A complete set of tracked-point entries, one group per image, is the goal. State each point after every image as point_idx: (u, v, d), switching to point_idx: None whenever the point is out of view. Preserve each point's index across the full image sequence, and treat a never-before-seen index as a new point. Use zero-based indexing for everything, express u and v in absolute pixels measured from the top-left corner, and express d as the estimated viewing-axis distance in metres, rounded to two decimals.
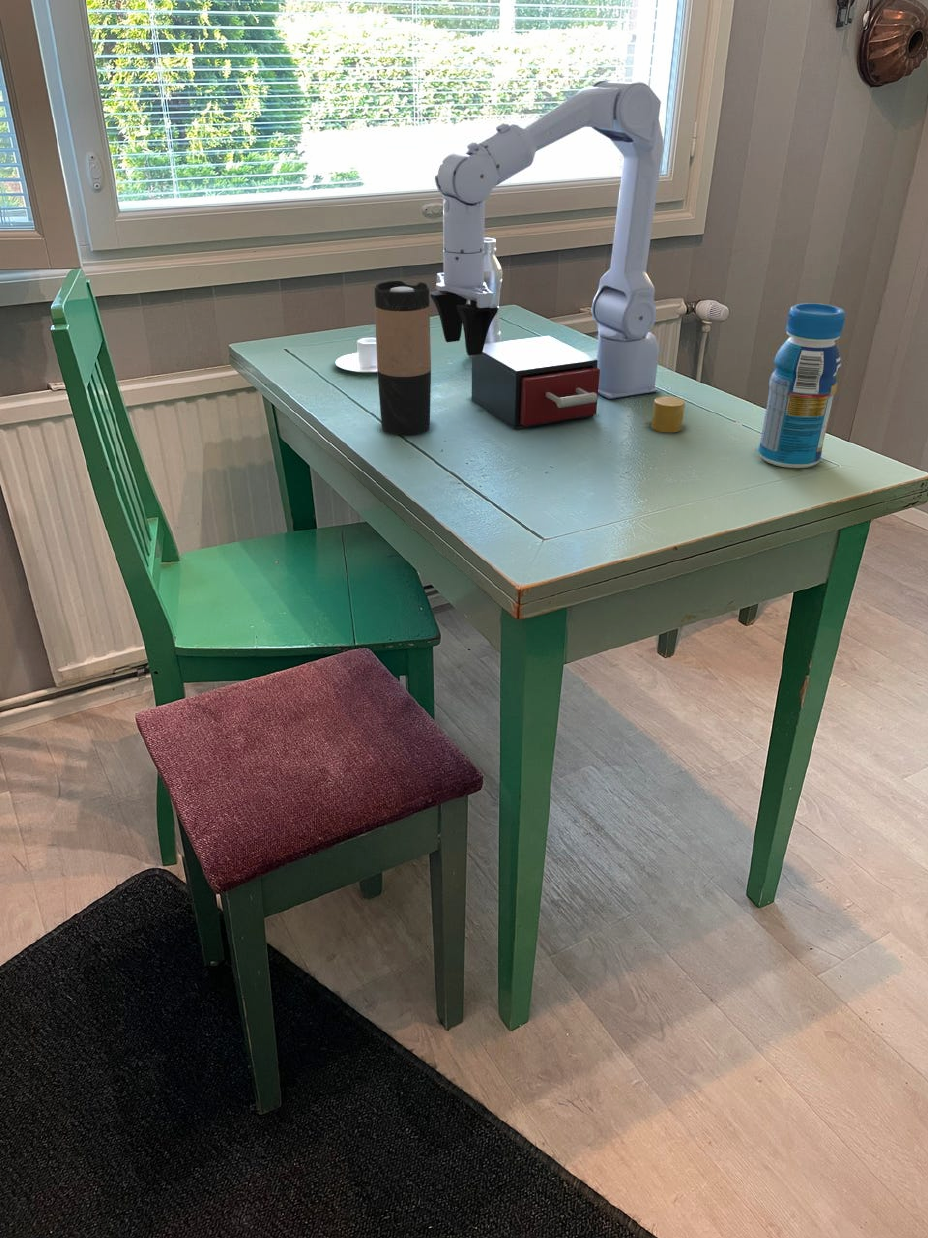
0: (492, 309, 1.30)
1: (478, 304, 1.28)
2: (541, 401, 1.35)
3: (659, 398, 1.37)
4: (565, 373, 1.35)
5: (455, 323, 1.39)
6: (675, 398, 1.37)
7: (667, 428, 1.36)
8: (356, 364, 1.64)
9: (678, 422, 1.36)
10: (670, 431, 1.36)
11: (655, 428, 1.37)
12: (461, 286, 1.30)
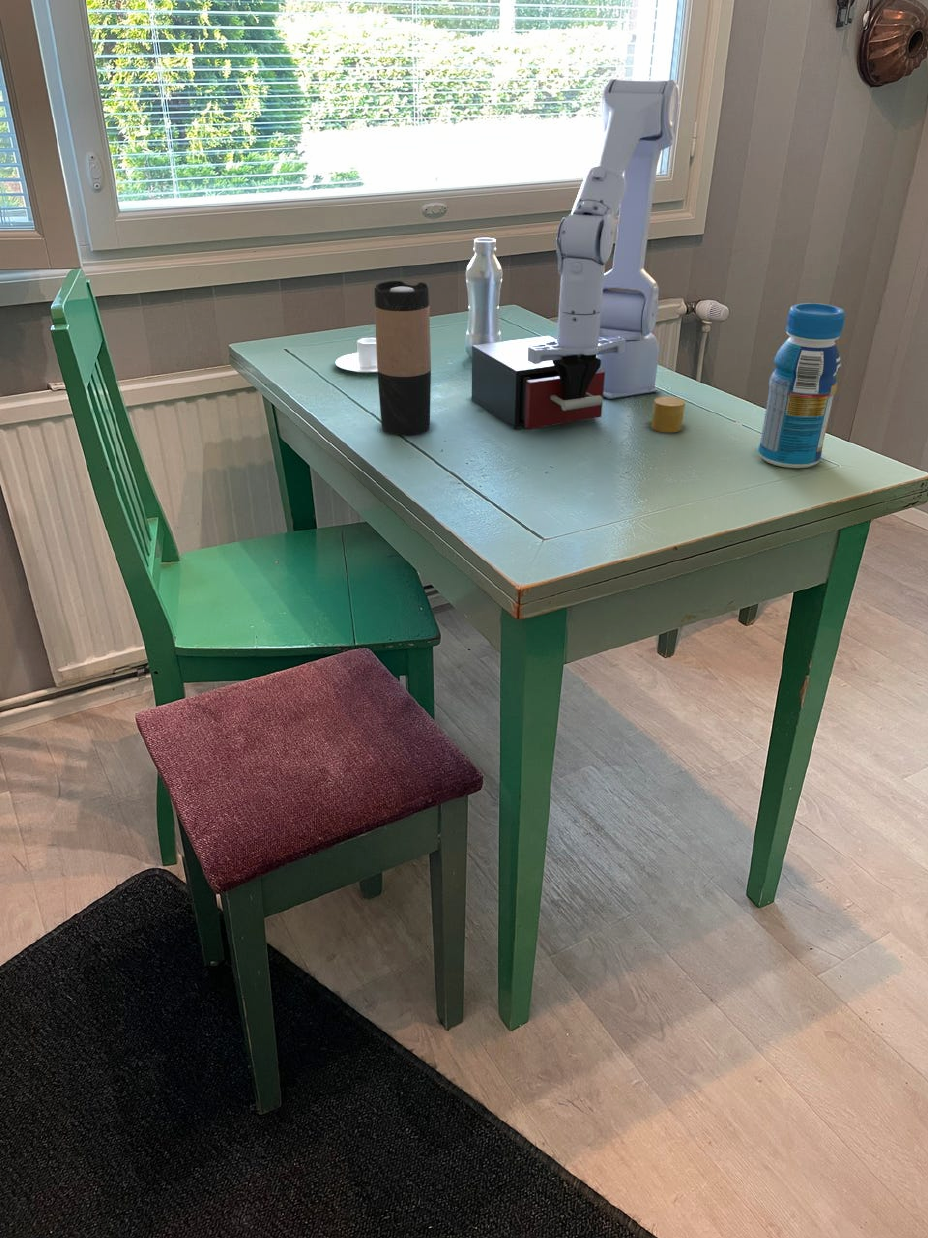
0: None
1: (622, 350, 1.32)
2: (546, 404, 1.34)
3: (659, 398, 1.37)
4: None
5: None
6: (675, 398, 1.37)
7: (667, 428, 1.36)
8: (356, 364, 1.64)
9: (678, 422, 1.36)
10: (670, 431, 1.36)
11: (655, 428, 1.37)
12: (598, 343, 1.29)
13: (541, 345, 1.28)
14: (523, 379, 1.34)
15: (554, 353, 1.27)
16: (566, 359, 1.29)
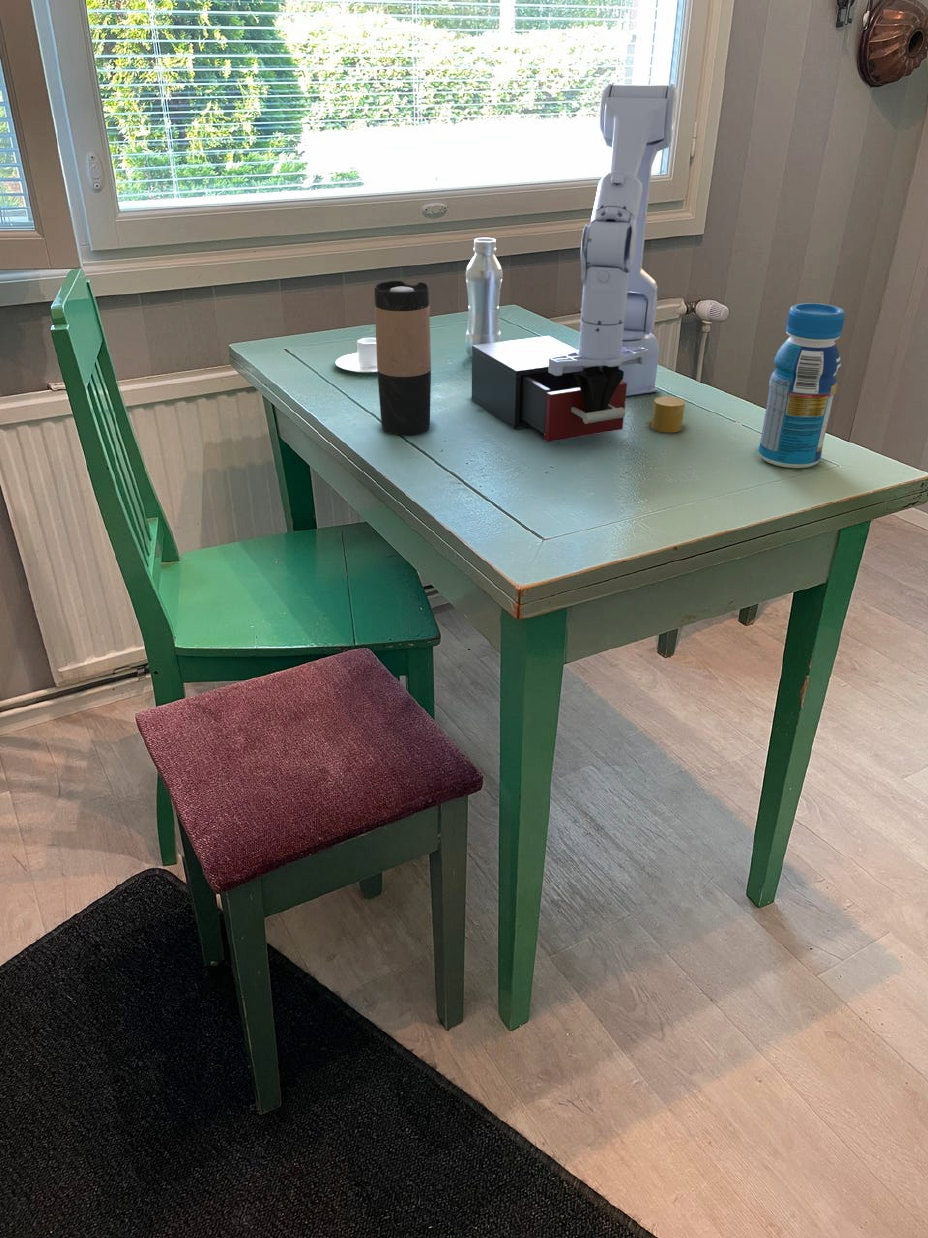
0: None
1: (645, 361, 1.27)
2: (566, 416, 1.30)
3: (659, 398, 1.37)
4: None
5: None
6: (675, 398, 1.37)
7: (667, 428, 1.36)
8: (356, 364, 1.64)
9: (678, 422, 1.36)
10: (670, 431, 1.36)
11: (655, 428, 1.37)
12: (621, 353, 1.25)
13: (562, 356, 1.24)
14: (543, 390, 1.30)
15: (576, 365, 1.22)
16: (588, 371, 1.24)
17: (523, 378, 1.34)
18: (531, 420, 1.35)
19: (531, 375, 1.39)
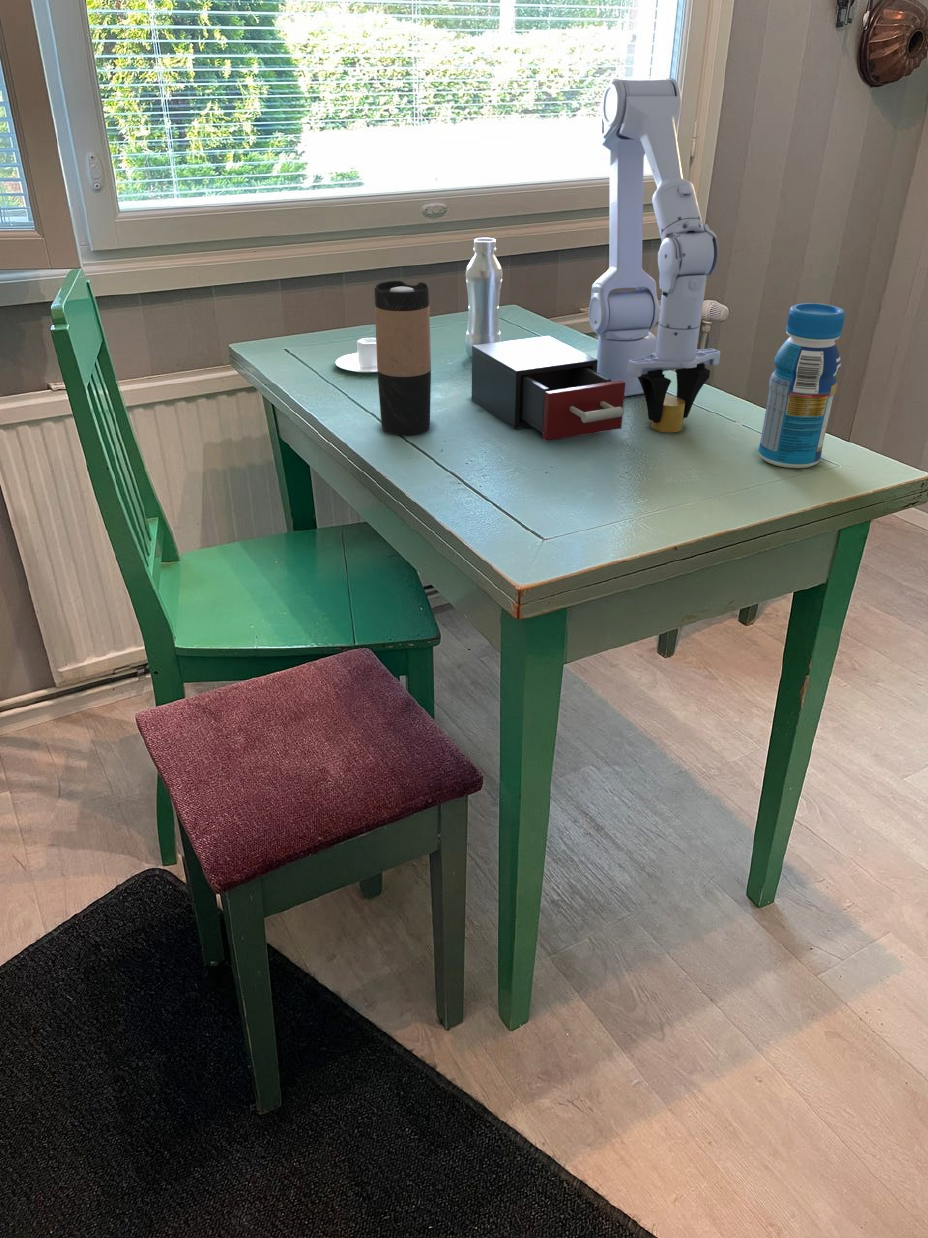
0: None
1: (717, 362, 1.35)
2: (565, 415, 1.30)
3: None
4: (589, 386, 1.30)
5: None
6: (675, 398, 1.37)
7: (667, 428, 1.36)
8: (356, 364, 1.64)
9: (678, 422, 1.36)
10: (670, 431, 1.36)
11: (655, 428, 1.37)
12: (696, 355, 1.33)
13: (640, 358, 1.32)
14: (542, 389, 1.30)
15: (654, 366, 1.30)
16: (652, 374, 1.31)
17: (522, 377, 1.35)
18: (530, 419, 1.35)
19: (530, 374, 1.39)
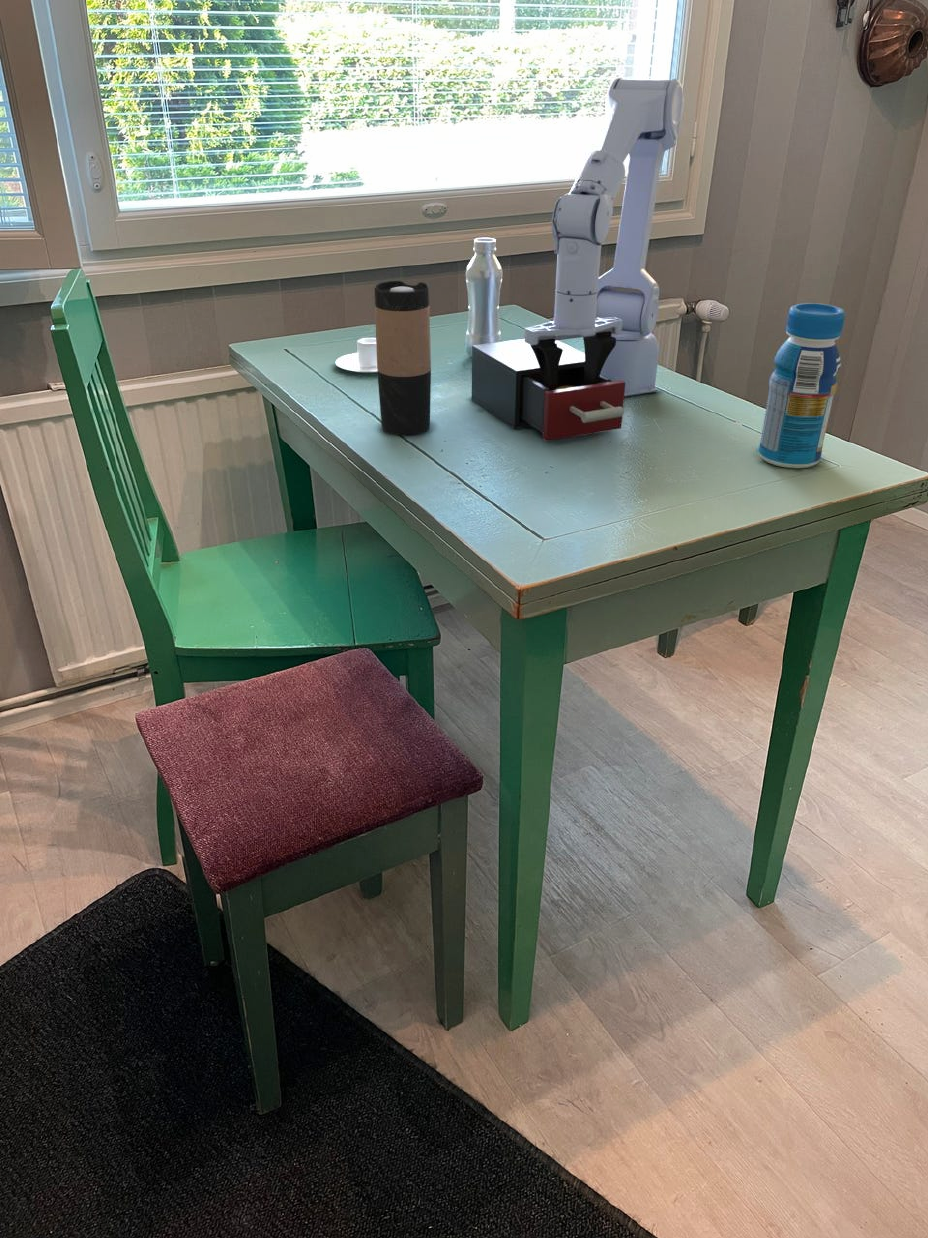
0: None
1: (619, 330, 1.32)
2: (565, 415, 1.30)
3: (560, 387, 1.35)
4: (589, 386, 1.30)
5: None
6: None
7: None
8: (356, 364, 1.64)
9: None
10: None
11: None
12: (595, 323, 1.29)
13: (538, 326, 1.28)
14: (542, 389, 1.30)
15: (551, 334, 1.26)
16: (543, 343, 1.27)
17: (522, 377, 1.35)
18: (530, 419, 1.35)
19: (530, 374, 1.39)
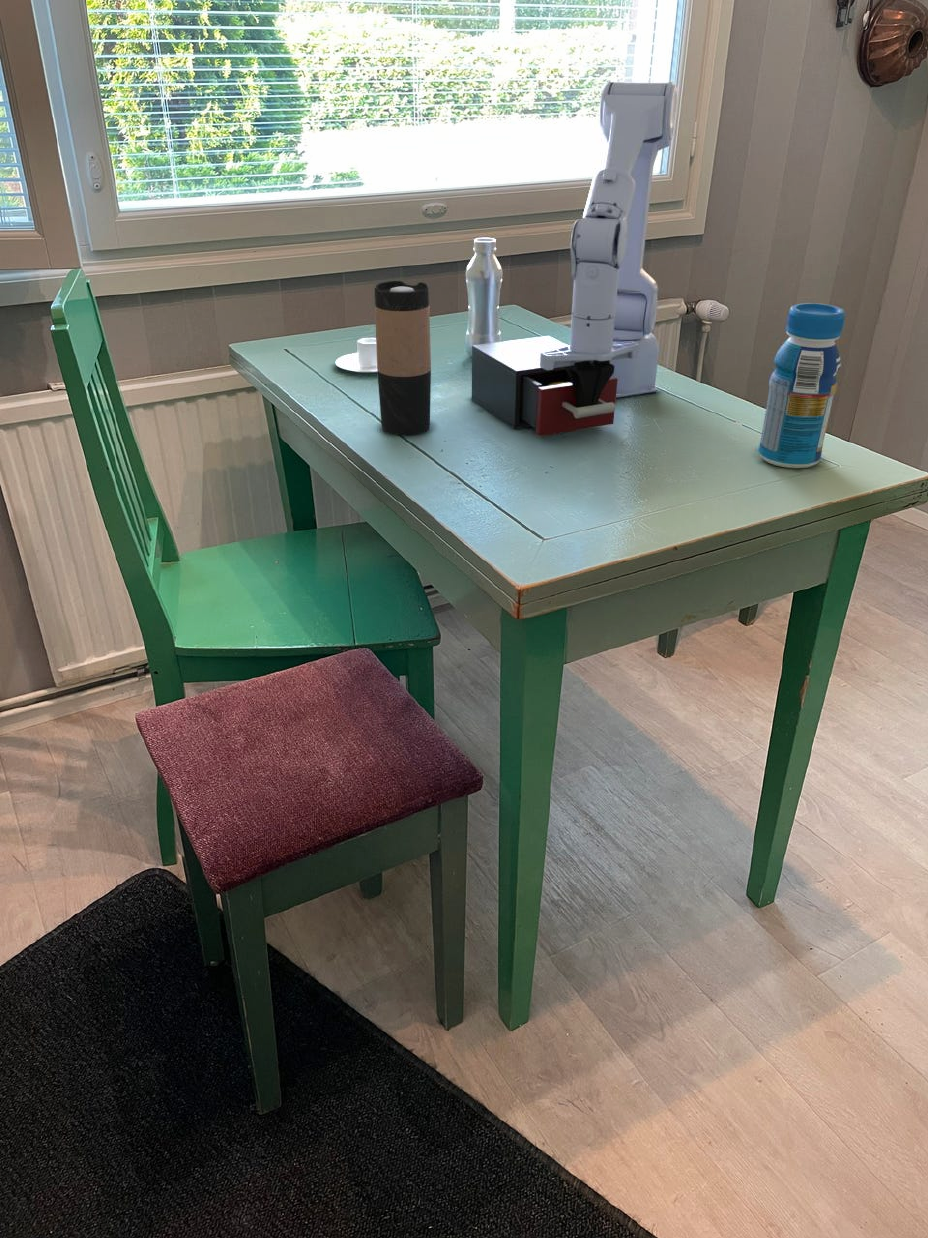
0: None
1: (636, 355, 1.29)
2: (557, 411, 1.32)
3: (553, 383, 1.36)
4: None
5: None
6: None
7: None
8: (356, 364, 1.64)
9: None
10: None
11: None
12: (612, 348, 1.26)
13: (553, 351, 1.26)
14: (535, 385, 1.32)
15: (567, 359, 1.24)
16: (579, 365, 1.26)
17: None
18: (524, 415, 1.37)
19: None
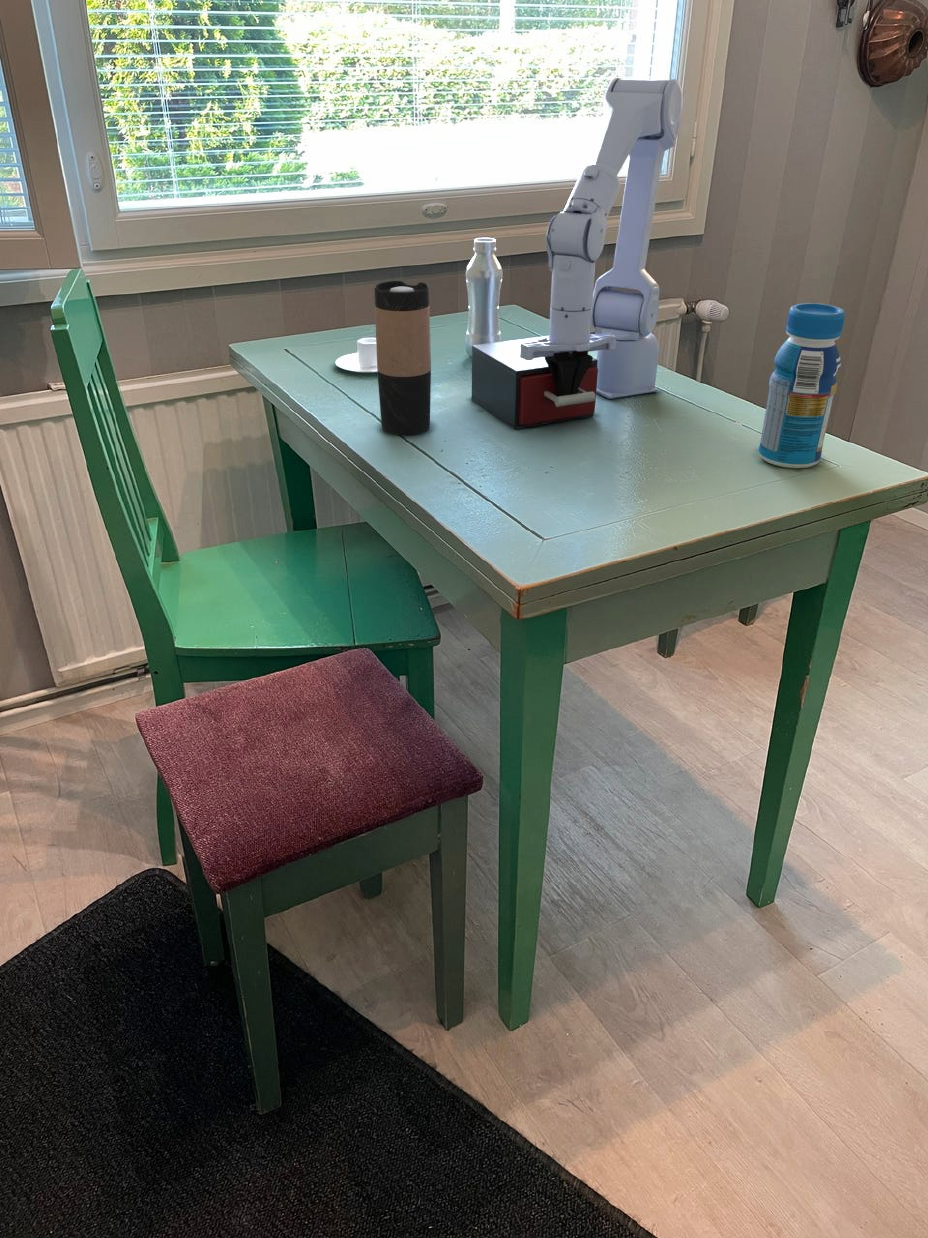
0: None
1: (613, 346, 1.34)
2: (539, 400, 1.35)
3: None
4: None
5: None
6: None
7: None
8: (356, 364, 1.64)
9: None
10: None
11: None
12: (590, 339, 1.31)
13: (533, 342, 1.30)
14: None
15: (546, 349, 1.28)
16: (558, 356, 1.30)
17: None
18: None
19: None
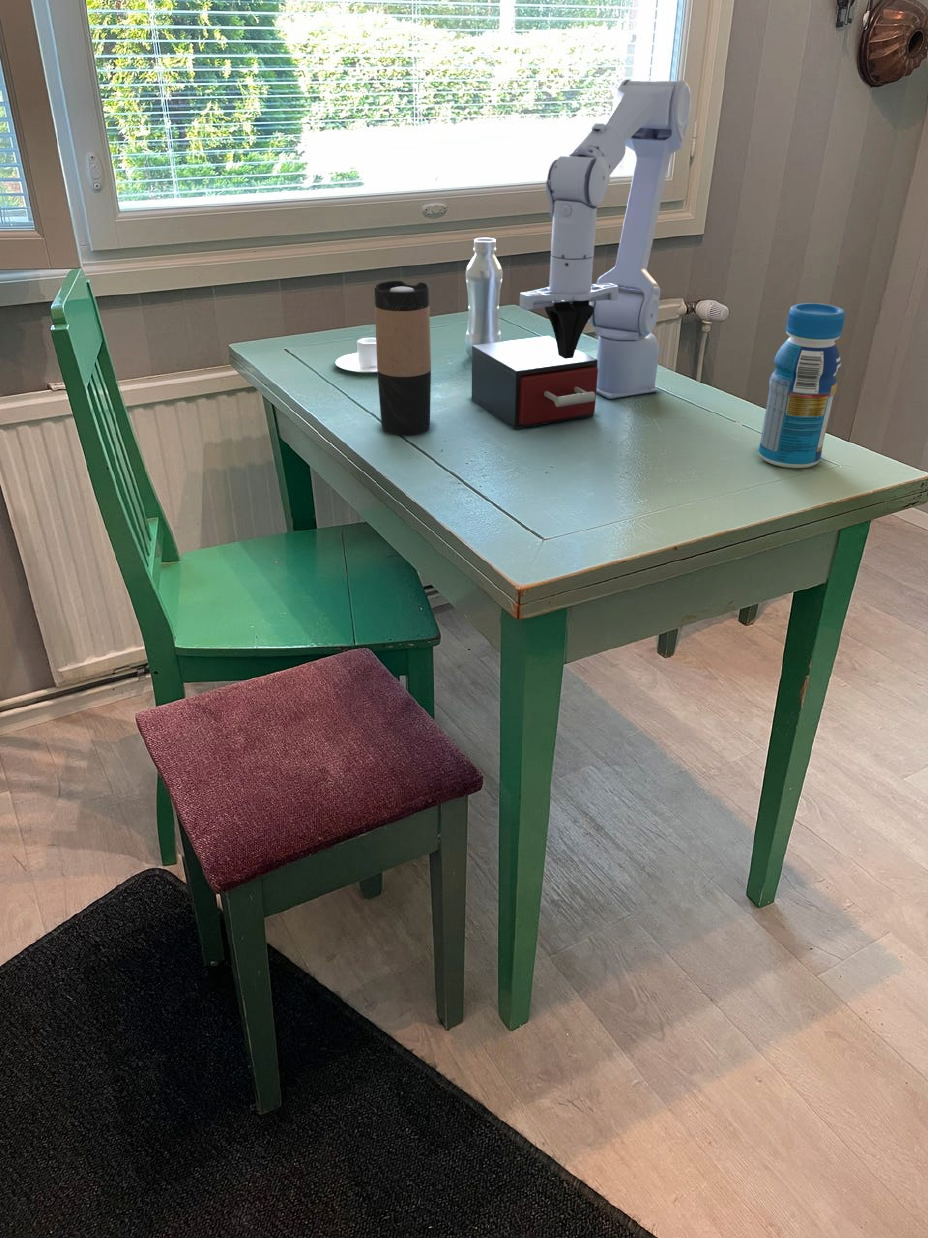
0: None
1: (615, 297, 1.31)
2: (539, 400, 1.35)
3: None
4: (563, 372, 1.35)
5: None
6: None
7: None
8: (356, 364, 1.64)
9: None
10: None
11: None
12: (591, 289, 1.28)
13: (533, 291, 1.27)
14: None
15: (546, 299, 1.26)
16: (558, 306, 1.28)
17: None
18: None
19: None
